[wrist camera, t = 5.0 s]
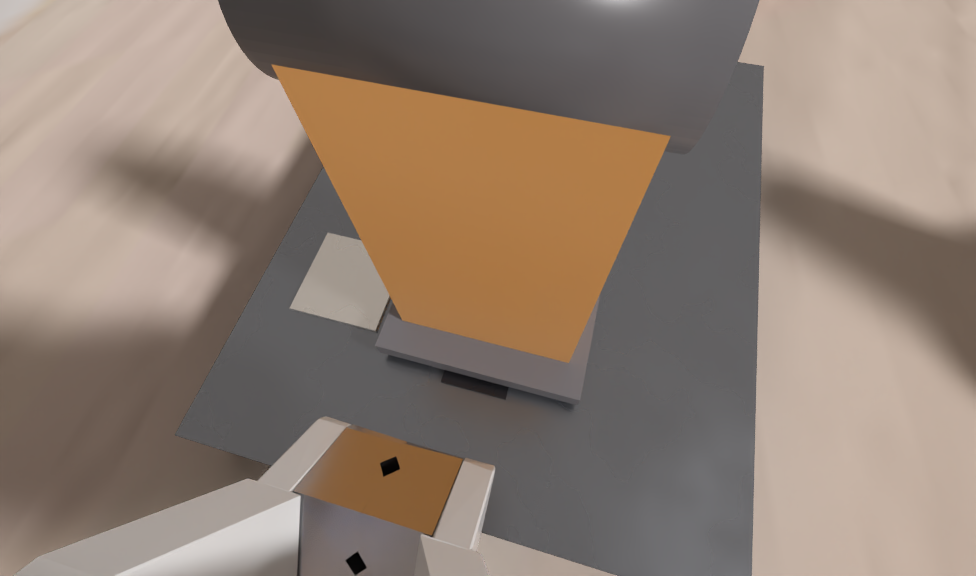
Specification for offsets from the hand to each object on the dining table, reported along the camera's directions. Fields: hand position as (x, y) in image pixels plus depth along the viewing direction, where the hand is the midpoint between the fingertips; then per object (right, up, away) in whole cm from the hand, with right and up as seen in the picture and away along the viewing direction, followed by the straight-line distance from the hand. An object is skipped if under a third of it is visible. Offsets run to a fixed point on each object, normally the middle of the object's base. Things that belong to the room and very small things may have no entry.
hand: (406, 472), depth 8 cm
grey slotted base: (+3, +4, +11) cm, 13 cm away
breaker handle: (+2, +2, +7) cm, 7 cm away
